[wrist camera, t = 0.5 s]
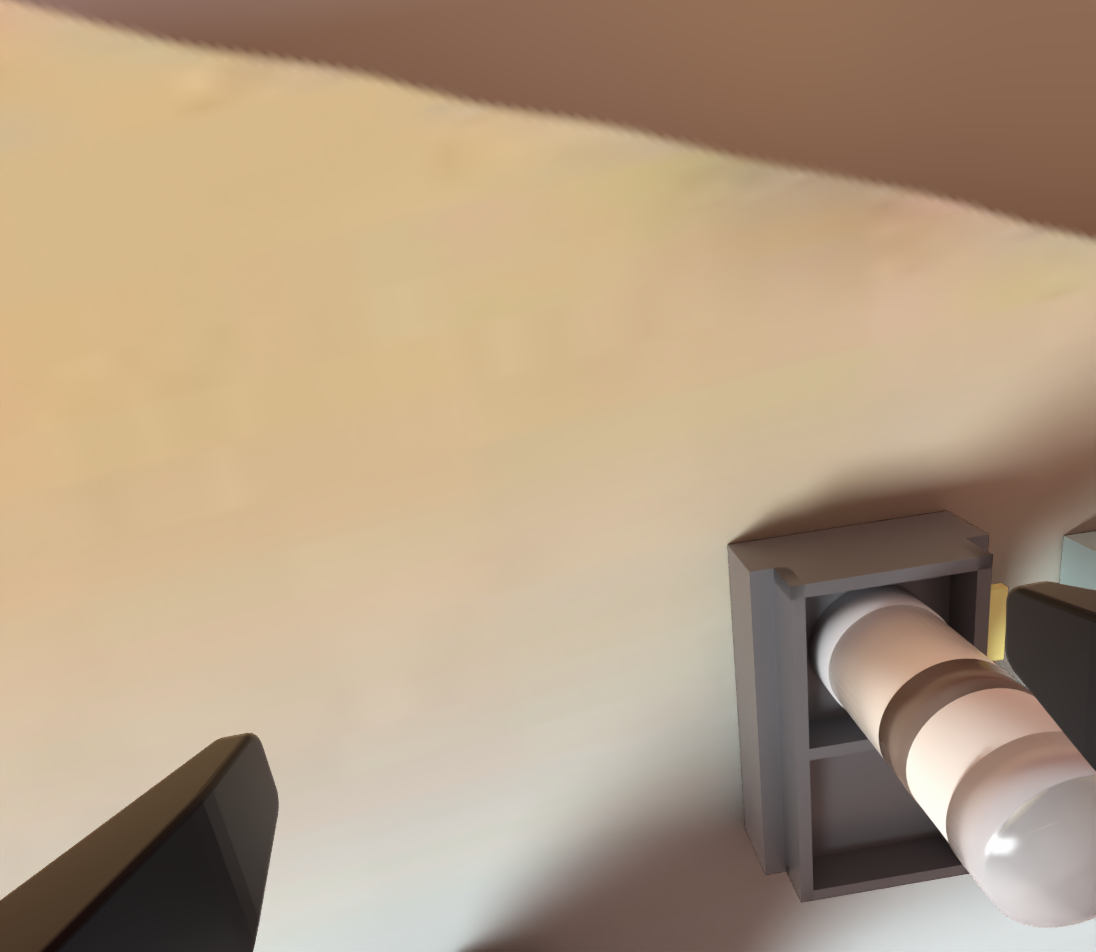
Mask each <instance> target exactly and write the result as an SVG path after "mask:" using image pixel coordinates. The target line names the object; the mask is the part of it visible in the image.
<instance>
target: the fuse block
mask: <svg viewBox="0 0 1096 952" xmlns="http://www.w3.org/2000/svg"><path fill="white" fill-rule="evenodd" d="M988 542H989V534H987V533H985V532H984V531H982V530H980V529H978V528H977V527H975V526H973V525H971V524H970V523H968V522H966V521H964V520H963V519H961V518H959V517H957V516H956V515H954V514H952V513H950V512H949V511H942V512H936V513H929V514H923V515H916V516H910V517H903V518H897V519H890V520H884V521H877V522H871V523H865V524H858V525H852V526H845V527H839V528H832V529H826V530H819V531H813V532H807V533H800V534H794V535H787V536H781V537H774V538H768V539H761V540H755V541H748V542H742V543H736V544H729V545H727V547H728V564H729V580H730V596H731V612H732V628H733V644H734V660H735V676H736V692H737V708H738V724H739V740H740V756H741V772H742V788H743V804H744V820H745V830H746V832H747V835H748V837H749V839H750V841H751V844H752V846H753V848H754V850H755V853H756V855H757V857H758V859H759V862H760V864H761V866H762V869H763V871H764V873H765V875H769V874H775V873H781V872H787V874H788V876H789V878H790V880H791V882H792V885H793V887H794V889H795V891H796V893H797V895H798V897H799V899H800V901H801V903H802V902H808V901H813V900H819V899H825V898H831V897H836V896H842V895H848V894H854V893H860V892H865V891H871V890H877V889H883V888H888V887H894V886H900V885H906V884H912V883H917V882H923V881H929V880H935V879H940V878H946V877H952V876H958V875H964V874H969V872H968V871H967V869H966V868H965V867H964V866H963V864H962V863H961V862H960V860H959V859H958V858H957V856H956V855H955V854H954V852H953V850H952V849H951V847H950V844H949V842H948V841H947V840H946V838H945V837H944V836H943V835H942V833H941V832H940V831H939V829H938V828H937V827H936V826H935V824H934V823H933V822H932V820H931V819H930V818H929V817H928V815H927V814H926V813H925V811H924V810H923V809H922V808H921V807H920V806H919V804H918V803H917V802H916V801H915V800H914V799H913V797H912V796H911V795H910V793H909V792H908V791H907V790H906V788H905V787H904V786H903V784H902V783H901V782H900V781H899V779H898V778H897V777H896V775H895V774H894V773H893V772H892V770H891V769H890V768H889V766H888V765H887V763H886V762H885V760H884V759H883V757H882V756H881V755H880V753H879V752H878V751H877V750H876V748H875V747H874V746H873V744H872V743H871V742H870V741H869V739H868V738H867V737H866V735H865V734H864V733H863V732H862V730H861V729H860V728H859V726H858V725H857V724H856V723H855V721H854V720H853V719H852V717H851V716H850V715H849V714H848V712H847V711H846V710H845V709H844V708H843V707H842V706H841V705H840V704H839V703H838V702H837V701H836V700H835V698H834V697H833V696H832V695H831V693H830V692H829V691H828V689H827V688H826V687H825V685H824V684H823V683H822V682H821V680H820V679H819V678H818V676H817V675H816V673H815V672H814V670H813V668H812V665H811V662H810V658H809V641H810V636H811V633H812V630H813V627H814V625H815V623H816V621H817V620H818V618H819V617H820V615H821V614H822V613H823V611H824V610H825V609H826V608H827V607H828V606H829V605H830V604H831V603H832V602H833V601H835V600H836V599H837V598H838V597H840V596H842V595H843V594H845V593H847V592H849V591H851V590H858V589H864V588H870V587H877V586H883V585H894V586H897V587H901V588H903V589H905V590H907V591H909V592H910V593H912V594H913V595H915V596H916V597H917V598H918V599H920V600H921V601H922V602H923V603H924V604H926V605H927V606H928V607H929V608H931V609H932V610H933V611H934V612H936V613H937V614H938V615H939V616H940V617H941V618H942V619H943V620H944V621H945V622H946V624H947V625H949V626H950V627H951V628H952V629H953V630H955V631H956V632H957V633H958V634H960V635H961V636H962V637H963V638H965V639H966V640H967V641H968V642H969V643H971V644H972V645H973V646H974V647H976V648H977V649H978V650H979V651H980V652H982V653H983V654H984V655H985V656H987V657H988V658H989V659H990V660H991V661H996V660H1003V659H1004V645H1005V630H1006V600H1007V596H1008V587H1007V586H1005V585H1004V584H1002V583H998V584H992V585H991V577H992V559H993V555H992V554H991V553H989V552H988Z"/></svg>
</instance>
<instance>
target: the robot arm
mask: <svg viewBox="0 0 1096 952" xmlns="http://www.w3.org/2000/svg"><path fill="white" fill-rule="evenodd" d="M1005 648H1006V655H1007V658H1008V661H1009V663H1010V665H1011V667H1012V669H1013V670H1014V672H1015V673H1016V674H1017V675H1018V677H1019V678H1020V679H1021V680H1022V682H1023V683H1024V684H1025V685H1026V687H1027V688H1028V689H1029V690H1030V692H1031V693H1032V694H1033V695H1034V697H1035V698H1036V699H1037V700H1038V702H1039V703H1040V704H1041V705H1042V706H1043V708H1044V709H1045V710H1046V711H1047V713H1048V714H1049V715H1050V716H1051V718H1052V719H1053V720H1054V721H1055V723H1056V724H1057V725H1058V726H1059V728H1060V729H1061V730H1062V731H1063V732H1064V734H1065V735H1066V736H1067V737H1068V739H1069V740H1070V741H1071V742H1072V744H1073V745H1074V746H1075V747H1076V749H1077V750H1078V751H1079V752H1080V754H1081V755H1082V756H1083V757H1084V758H1085V760H1086V761H1087V762H1088V763H1089V764H1090V766H1091V767H1092V768H1093V769H1094V770H1095V771H1096V590H1092V589H1086V588H1081V587H1076V586H1070V585H1065V584H1060V583H1054V582H1047V581H1046V582H1038V583H1032V584H1027V585H1022V586H1018V587H1015V588H1013V589H1012V590H1011V591H1010V592H1009V593H1008V596H1007V600H1006V640H1005ZM278 809H279V801H278V793H277V789H276V786H275V783H274V780H273V776H272V773H271V770H270V767H269V764H268V761H267V758H266V755H265V752H264V749H263V746H262V743H261V741H260V740H259V738H258V737H257V736H256V735H255V734H253V733H245V734H239V735H234V736H229V737H224V738H220V739H218V740H216V741H214V742H213V743H212V744H210V745H209V746H208V747H206V748H205V749H204V750H202V751H201V752H200V753H198V754H197V755H196V756H194V757H193V758H191V759H190V760H189V761H187V762H186V763H185V764H183V765H182V766H181V767H179V768H178V769H177V770H175V771H174V772H173V773H171V774H170V775H169V776H167V777H166V778H165V779H163V780H162V781H161V782H159V783H158V784H156V785H155V786H154V787H152V788H151V789H150V790H148V791H147V792H146V793H144V794H143V795H142V796H140V797H139V798H138V799H136V800H135V801H134V802H132V803H131V804H130V805H128V806H127V807H125V808H124V809H123V810H121V811H120V812H119V813H117V814H116V815H115V816H113V817H112V818H111V819H109V820H108V821H107V822H105V823H104V824H103V825H101V826H100V827H99V828H97V829H96V830H95V831H93V832H92V833H90V834H89V835H88V836H86V837H85V838H84V839H82V840H81V841H80V842H78V843H77V844H76V845H74V846H73V847H72V848H70V849H69V850H68V851H66V852H65V853H64V854H62V855H61V856H59V857H58V858H57V859H55V860H54V861H53V862H51V863H50V864H49V865H47V866H46V867H45V868H43V869H42V870H41V871H39V872H38V873H37V874H35V875H34V876H33V877H31V878H30V879H29V880H27V881H26V882H24V883H23V884H22V885H20V886H19V887H18V888H16V889H15V890H14V891H12V892H11V893H10V894H8V895H7V896H6V897H4V898H3V899H2V900H0V952H253V949H254V945H255V941H256V936H257V931H258V926H259V921H260V915H261V909H262V903H263V898H264V892H265V886H266V880H267V875H268V869H269V863H270V857H271V852H272V846H273V840H274V834H275V828H276V823H277V817H278Z"/></svg>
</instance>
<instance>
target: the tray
mask: <svg viewBox="0 0 1096 952" xmlns="http://www.w3.org/2000/svg"><path fill="white" fill-rule="evenodd" d="M1060 584H1065V585H1070V586H1076V587H1081V588H1086V589H1092V590H1096V531H1092V532H1086V533H1079V534H1073V535H1067V536H1064V538H1063V550H1062V561H1061V572H1060Z"/></svg>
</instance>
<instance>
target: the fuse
mask: <svg viewBox="0 0 1096 952" xmlns="http://www.w3.org/2000/svg"><path fill="white" fill-rule="evenodd" d="M809 658H810V662H811V665H812V668H813V670H814V672H815V673H816V675H817V676H818V678H819V679H820V680H821V682H822V683H823V684H824V685H825V687H826V688H827V689H828V691H829V692H830V693H831V695H832V696H833V697H834V698H835V700H836V701H837V702H838V703H839V704H840V705H841V706H842V707H843V708H844V709H845V710H846V711H847V712H848V714H849V715H850V716H851V717H852V719H853V720H854V721H855V723H856V724H857V725H858V726H859V728H860V729H861V730H862V732H863V733H864V734H865V735H866V737H867V738H868V739H869V741H870V742H871V743H872V744H873V746H874V747H875V748H876V750H877V751H878V752H879V753H880V755H881V756H882V757H883V759H884V760H885V762H886V763H887V765H888V766H889V768H890V769H891V770H892V772H893V773H894V774H895V775H896V777H897V778H898V779H899V781H900V782H901V783H902V784H903V786H904V787H905V788H906V790H907V791H908V792H909V793H910V795H911V796H912V797H913V799H914V800H915V801H916V802H917V803H918V804H919V806H920V807H921V808H922V809H923V810H924V811H925V813H926V814H927V815H928V817H929V818H930V819H931V820H932V822H933V823H934V824H935V826H936V827H937V828H938V829H939V831H940V832H941V833H942V835H943V836H944V837H945V838H946V840H947V841H948V842H949V844H950V847H951V849H952V850H953V852H954V854H955V855H956V856H957V858H958V859H959V860H960V862H961V863H962V864H963V866H964V867H965V868H966V869H967V871H968V872H969V873H970V875H971V876H972V877H973V878H974V880H975V881H976V882H977V884H978V885H979V886H980V888H981V889H982V890H983V891H984V893H985V894H986V895H987V897H988V898H989V899H990V901H991V902H992V903H993V904H994V905H995V907H996V908H997V909H998V910H999V911H1000V912H1002V913H1003V914H1004V915H1006V916H1007V917H1009V918H1011V919H1012V920H1014V921H1017V922H1020V923H1022V924H1025V925H1030V926H1035V927H1062V926H1069V925H1074V924H1078V923H1082V922H1085V921H1088V920H1091V919H1093V918H1096V771H1095V770H1094V769H1093V768H1092V767H1091V766H1090V764H1089V763H1088V762H1087V761H1086V760H1085V758H1084V757H1083V756H1082V755H1081V754H1080V752H1079V751H1078V750H1077V749H1076V747H1075V746H1074V745H1073V744H1072V742H1071V741H1070V740H1069V739H1068V737H1067V736H1066V735H1065V734H1064V732H1063V731H1062V730H1061V729H1060V728H1059V726H1058V725H1057V724H1056V723H1055V721H1054V720H1053V719H1052V718H1051V716H1050V715H1049V714H1048V713H1047V711H1046V710H1045V709H1044V708H1043V706H1042V705H1041V704H1040V703H1039V702H1038V700H1037V699H1036V698H1035V697H1034V695H1033V694H1032V693H1031V692H1030V690H1028V689H1027V688H1026V687H1025V686H1023V685H1022V684H1021V683H1020V682H1019V681H1017V680H1016V679H1015V678H1014V677H1012V676H1011V675H1010V674H1009V673H1007V672H1006V671H1005V670H1004V669H1002V668H1000V667H999V666H998V665H996V664H995V663H994V662H993V661H991V660H990V659H989V658H988V657H987V656H985V655H984V654H983V653H982V652H980V651H979V650H978V649H977V648H976V647H974V646H973V645H972V644H971V643H969V642H968V641H967V640H966V639H965V638H963V637H962V636H961V635H960V634H958V633H957V632H956V631H955V630H953V629H952V628H951V627H950V626H949V625H947V624H946V622H945V621H944V620H943V619H942V618H941V617H940V616H939V615H938V614H937V613H936V612H934V611H933V610H932V609H931V608H929V607H928V606H927V605H926V604H924V603H923V602H922V601H921V600H920V599H918V598H917V597H916V596H915V595H913V594H912V593H910V592H909V591H907V590H905V589H903V588H901V587H897V586H894V585H883V586H877V587H870V588H864V589H858V590H851V591H849V592H847V593H845V594H843V595H842V596H840V597H838V598H837V599H836V600H835V601H833V602H832V603H831V604H830V605H829V606H828V607H827V608H826V609H825V610H824V611H823V613H822V614H821V615H820V617H819V618H818V620H817V621H816V623H815V625H814V627H813V630H812V633H811V636H810V641H809Z"/></svg>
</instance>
